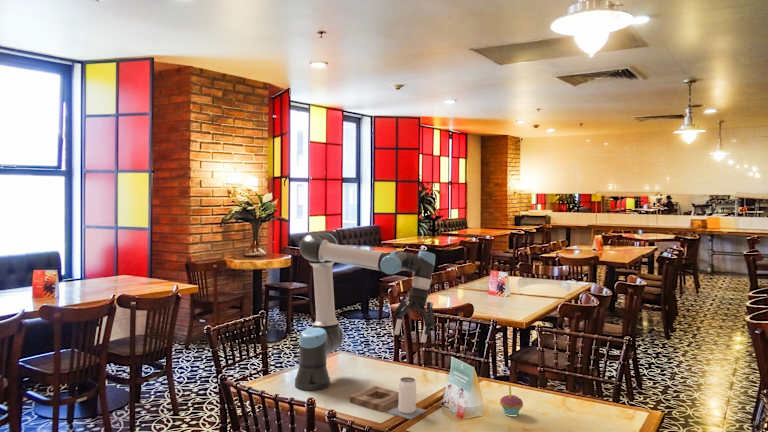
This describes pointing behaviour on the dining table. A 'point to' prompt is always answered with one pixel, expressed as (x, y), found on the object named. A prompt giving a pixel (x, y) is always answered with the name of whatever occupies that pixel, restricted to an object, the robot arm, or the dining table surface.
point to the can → (407, 395)
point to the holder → (369, 401)
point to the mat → (408, 416)
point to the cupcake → (511, 404)
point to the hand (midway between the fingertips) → (409, 338)
